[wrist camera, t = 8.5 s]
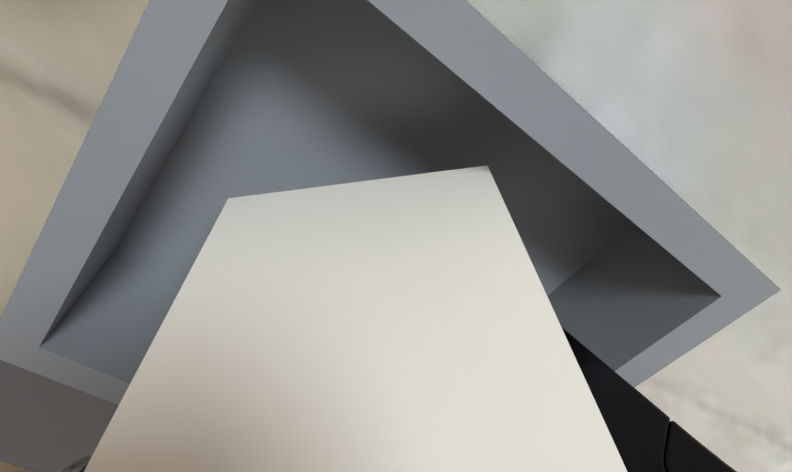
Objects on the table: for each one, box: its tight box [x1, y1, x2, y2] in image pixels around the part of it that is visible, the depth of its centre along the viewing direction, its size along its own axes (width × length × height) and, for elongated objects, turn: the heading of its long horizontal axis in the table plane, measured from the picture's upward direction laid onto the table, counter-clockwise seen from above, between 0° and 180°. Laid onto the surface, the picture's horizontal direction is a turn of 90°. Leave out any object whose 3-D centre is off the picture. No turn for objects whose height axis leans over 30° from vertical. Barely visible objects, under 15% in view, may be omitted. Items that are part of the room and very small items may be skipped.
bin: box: [0, 0, 781, 405], centre depth 11 cm, size 11×12×4 cm
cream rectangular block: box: [84, 166, 627, 472], centre depth 8 cm, size 5×5×7 cm
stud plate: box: [0, 360, 119, 472], centre depth 14 cm, size 9×9×5 cm
